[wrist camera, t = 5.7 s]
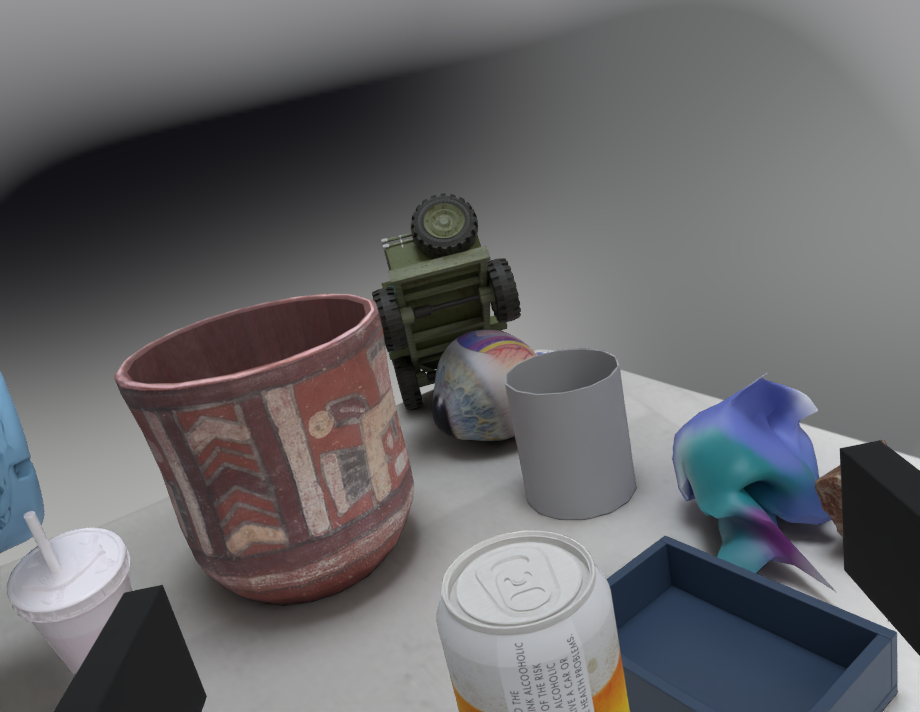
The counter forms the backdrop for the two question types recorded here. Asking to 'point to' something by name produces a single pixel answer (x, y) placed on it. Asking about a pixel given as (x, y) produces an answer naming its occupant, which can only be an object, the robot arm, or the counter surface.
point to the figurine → (753, 473)
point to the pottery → (278, 443)
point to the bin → (741, 641)
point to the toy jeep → (439, 291)
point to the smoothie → (70, 586)
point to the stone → (832, 495)
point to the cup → (571, 432)
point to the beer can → (530, 628)
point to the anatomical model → (477, 385)
